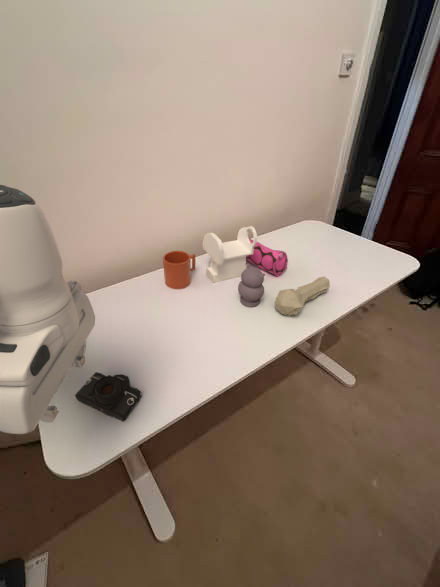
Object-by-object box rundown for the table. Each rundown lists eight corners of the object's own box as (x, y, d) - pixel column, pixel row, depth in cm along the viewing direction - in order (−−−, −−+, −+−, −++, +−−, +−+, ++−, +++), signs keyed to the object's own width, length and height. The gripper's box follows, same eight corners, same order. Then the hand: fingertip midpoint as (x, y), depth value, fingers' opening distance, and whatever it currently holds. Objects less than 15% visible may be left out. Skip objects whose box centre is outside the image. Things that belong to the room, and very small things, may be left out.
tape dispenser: (237, 262, 115) (241, 217, 104) (254, 280, 105) (260, 233, 95) (202, 270, 109) (203, 223, 99) (217, 289, 100) (220, 240, 89)
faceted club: (265, 306, 93) (313, 281, 107) (284, 326, 89) (331, 298, 103) (276, 287, 86) (325, 263, 100) (297, 308, 83) (345, 280, 97)
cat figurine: (231, 298, 97) (234, 266, 90) (249, 290, 101) (253, 258, 94) (249, 312, 91) (253, 280, 84) (267, 303, 95) (273, 271, 88)
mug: (175, 292, 98) (173, 267, 92) (159, 280, 103) (157, 256, 97) (203, 279, 105) (203, 255, 99) (187, 268, 110) (186, 245, 104)
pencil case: (229, 257, 117) (230, 234, 111) (245, 249, 123) (247, 227, 117) (273, 281, 105) (277, 256, 99) (289, 271, 111) (294, 247, 105)
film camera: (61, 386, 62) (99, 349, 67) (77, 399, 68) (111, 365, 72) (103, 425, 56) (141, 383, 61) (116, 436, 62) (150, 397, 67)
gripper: (54, 272, 46) (75, 338, 54) (-50, 385, 29) (3, 454, 38) (96, 275, 46) (110, 340, 54) (14, 390, 29) (53, 459, 38)
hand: (66, 388), depth 46 cm, fingers open, 8 cm apart
